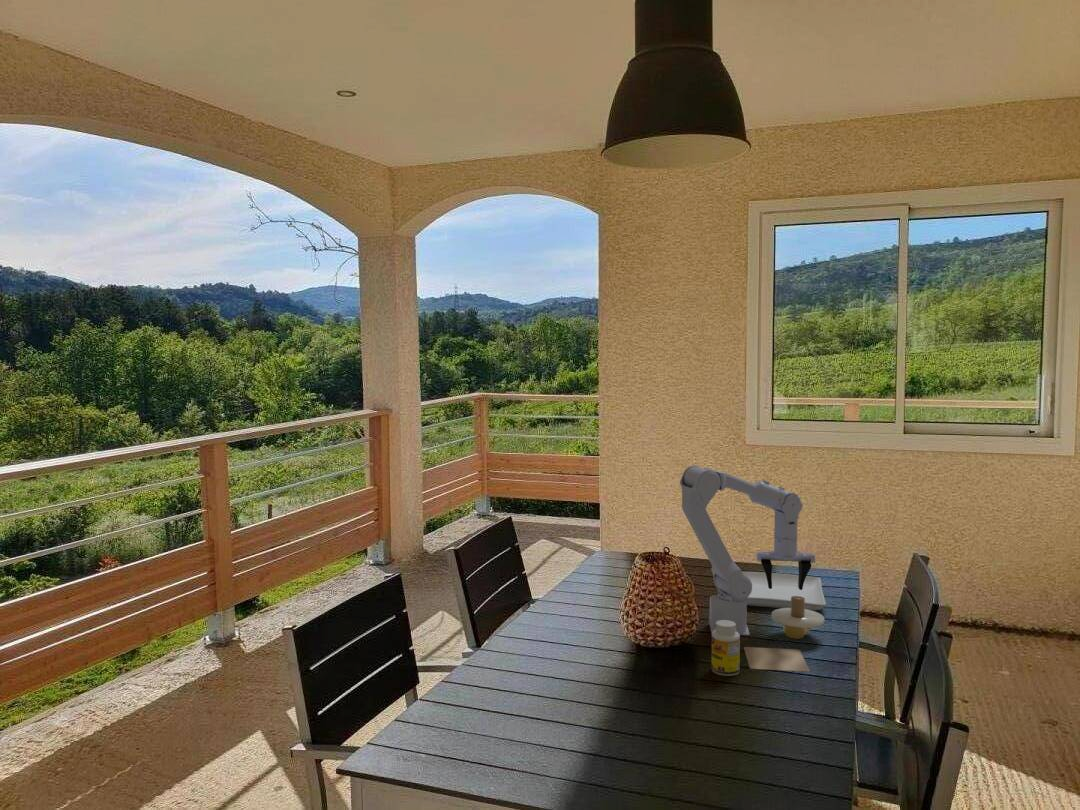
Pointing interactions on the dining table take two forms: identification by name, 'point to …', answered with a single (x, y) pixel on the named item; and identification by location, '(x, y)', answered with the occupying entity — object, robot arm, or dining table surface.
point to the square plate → (784, 591)
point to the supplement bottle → (725, 648)
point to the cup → (795, 631)
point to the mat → (775, 659)
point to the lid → (798, 615)
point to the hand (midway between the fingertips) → (785, 588)
